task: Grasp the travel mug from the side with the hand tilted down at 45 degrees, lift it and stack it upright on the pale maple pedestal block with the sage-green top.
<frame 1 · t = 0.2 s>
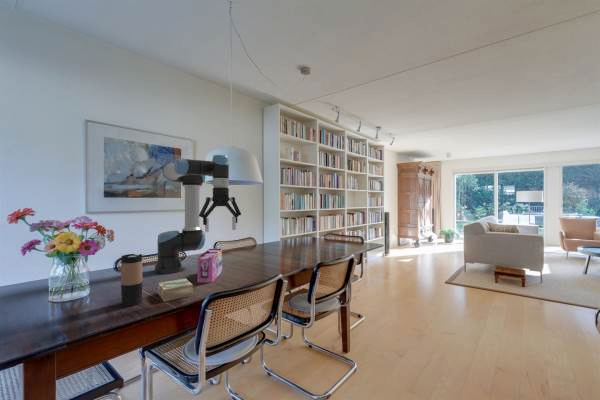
hand: (220, 230, 136), 28 cm above the table, tool pointing down, fingers open, 13 cm apart
gum box: (210, 277, 156), on the table
pedestal: (175, 294, 127), on the table
travel mug: (131, 303, 117), on the table
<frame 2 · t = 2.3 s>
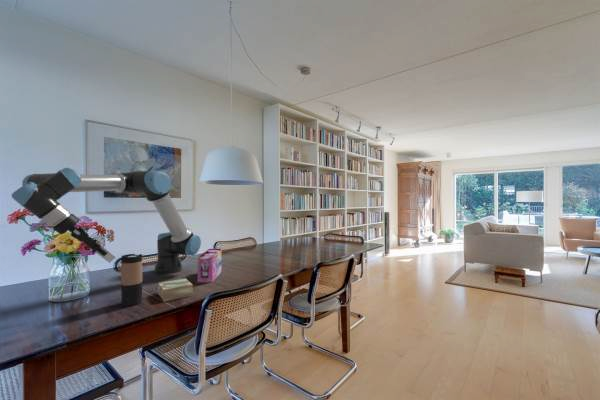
hand: (109, 257, 111), 20 cm above the table, tool tilted 45°, fingers open, 13 cm apart
nothing on the table moved.
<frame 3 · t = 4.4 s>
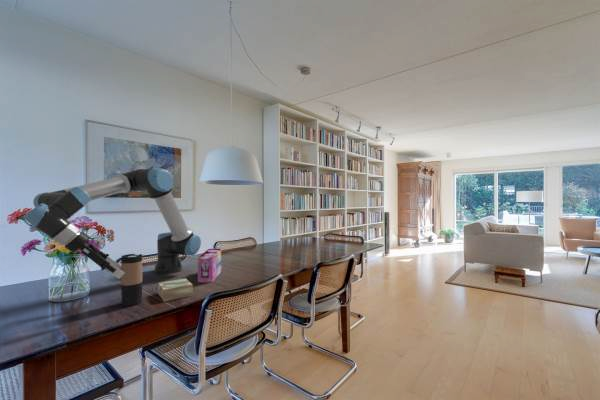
hand: (120, 272, 114), 14 cm above the table, tool tilted 45°, fingers open, 13 cm apart
nothing on the table moved.
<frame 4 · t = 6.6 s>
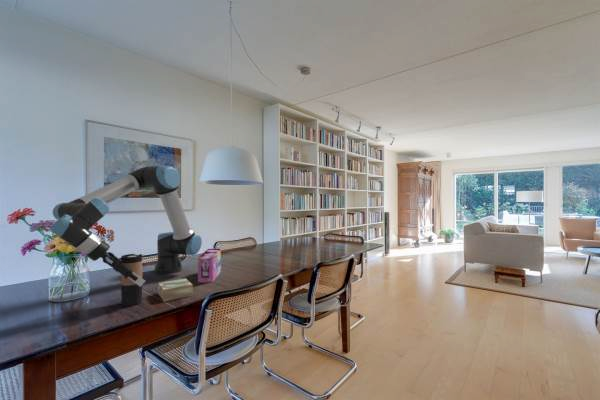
hand: (141, 281, 119), 9 cm above the table, tool tilted 45°, fingers closed on travel mug, 7 cm apart
travel mug: (131, 303, 117), on the table, touching gripper
everything else where it was.
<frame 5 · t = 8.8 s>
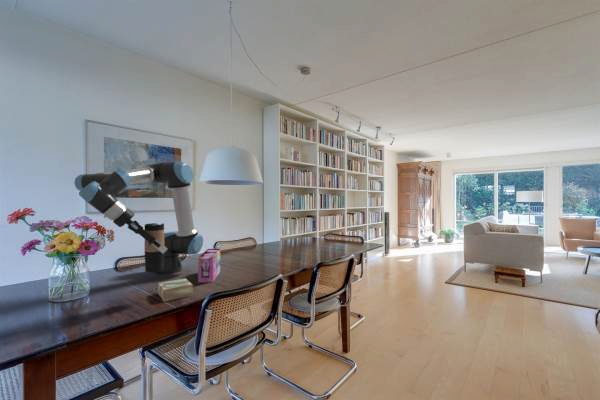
hand: (163, 249, 123), 21 cm above the table, tool tilted 45°, fingers closed on travel mug, 7 cm apart
travel mug: (154, 270, 121), point 12 cm above the table, touching gripper
everything else where it was.
when the fingers open (15 cm above the table, at t = 11.2 s): travel mug drops 1 cm, resting on pedestal.
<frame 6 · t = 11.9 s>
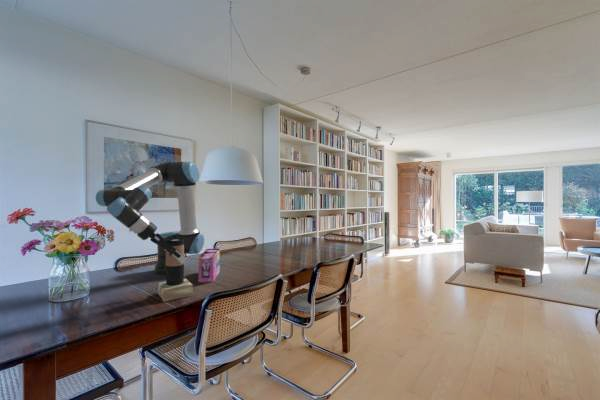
hand: (180, 258, 128), 16 cm above the table, tool tilted 45°, fingers open, 13 cm apart
travel mug: (175, 283, 127), point 5 cm above the table, touching pedestal
everything else where it was.
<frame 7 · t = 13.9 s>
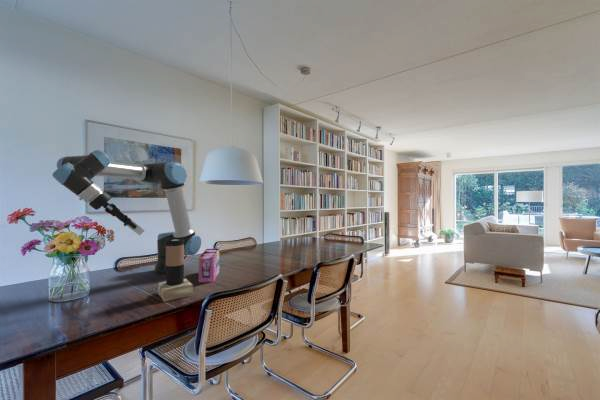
hand: (139, 231, 122), 30 cm above the table, tool tilted 45°, fingers open, 13 cm apart
nothing on the table moved.
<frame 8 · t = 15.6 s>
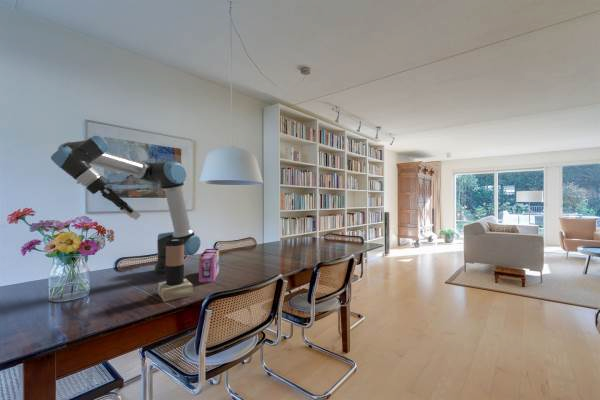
hand: (136, 216, 123), 36 cm above the table, tool tilted 45°, fingers open, 13 cm apart
at the end: travel mug inside the target area on the pedestal (0.1 cm from its centre), point 5.0 cm above the pedestal's base; travel mug tilted 0°; the gripper is holding nothing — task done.
